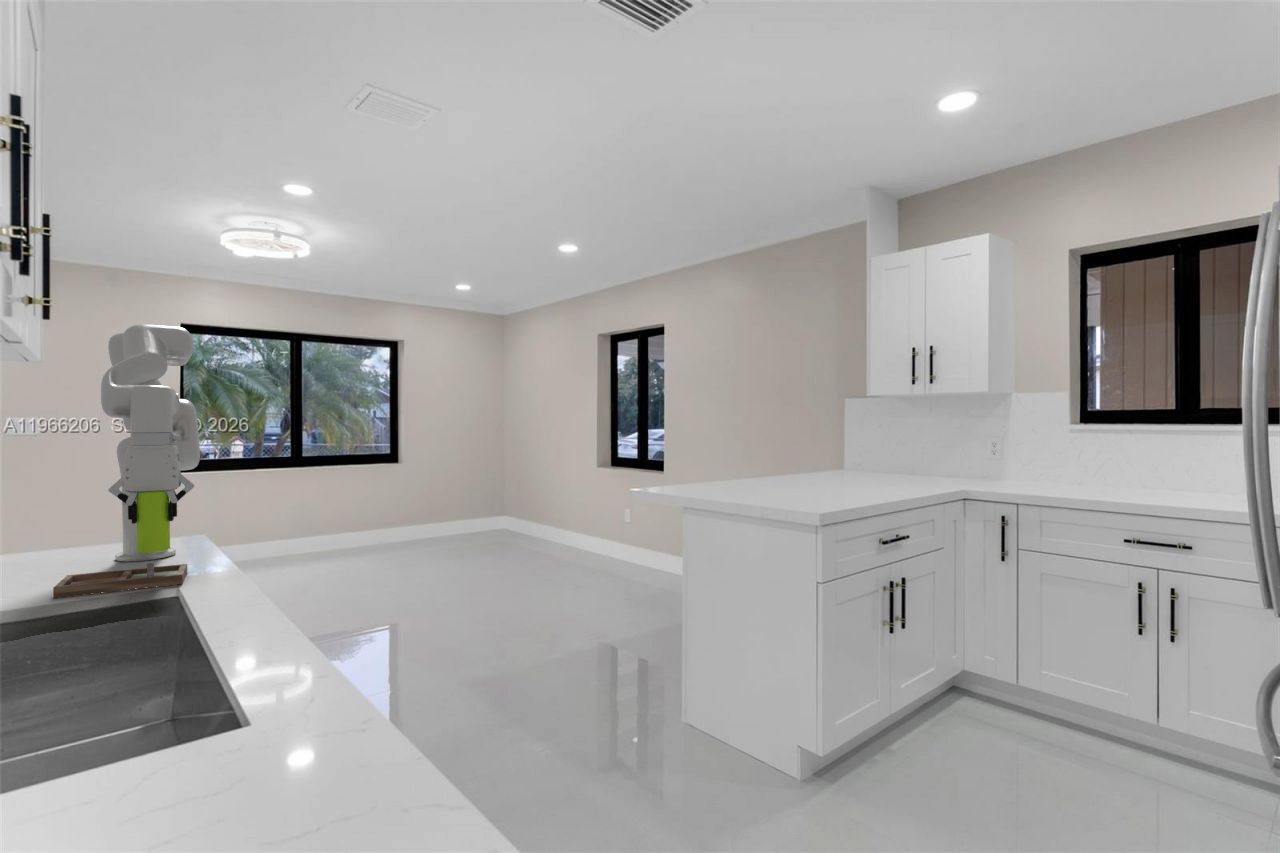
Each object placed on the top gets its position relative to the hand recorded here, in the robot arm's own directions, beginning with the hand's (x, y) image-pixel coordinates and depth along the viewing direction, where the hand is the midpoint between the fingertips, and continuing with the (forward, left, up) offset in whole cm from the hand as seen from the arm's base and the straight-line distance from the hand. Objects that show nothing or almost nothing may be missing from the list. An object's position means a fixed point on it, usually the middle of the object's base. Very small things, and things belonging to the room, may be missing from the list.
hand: (153, 520), depth 145 cm
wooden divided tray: (0, -5, -14) cm, 15 cm away
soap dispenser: (0, 0, -7) cm, 7 cm away
